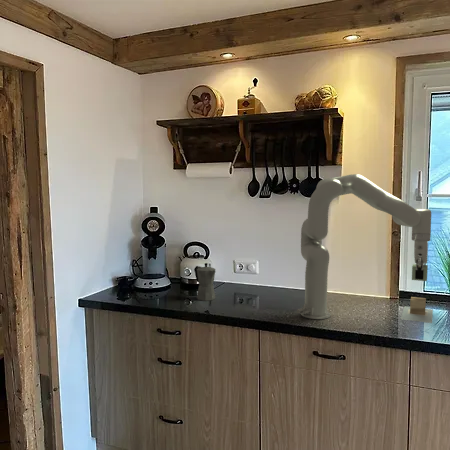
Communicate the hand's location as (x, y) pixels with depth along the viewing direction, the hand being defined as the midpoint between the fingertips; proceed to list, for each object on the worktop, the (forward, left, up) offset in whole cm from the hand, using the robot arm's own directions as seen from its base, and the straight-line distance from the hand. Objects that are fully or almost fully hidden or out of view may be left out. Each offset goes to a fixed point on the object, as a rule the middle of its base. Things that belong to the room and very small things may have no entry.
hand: (419, 277), depth 195 cm
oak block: (0, 0, -16) cm, 16 cm away
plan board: (-3, -1, -16) cm, 17 cm away
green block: (0, 0, -1) cm, 1 cm away
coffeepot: (-65, +76, -17) cm, 101 cm away
